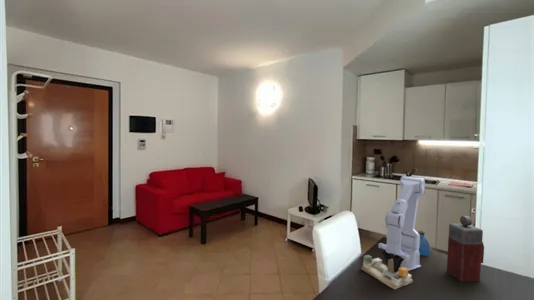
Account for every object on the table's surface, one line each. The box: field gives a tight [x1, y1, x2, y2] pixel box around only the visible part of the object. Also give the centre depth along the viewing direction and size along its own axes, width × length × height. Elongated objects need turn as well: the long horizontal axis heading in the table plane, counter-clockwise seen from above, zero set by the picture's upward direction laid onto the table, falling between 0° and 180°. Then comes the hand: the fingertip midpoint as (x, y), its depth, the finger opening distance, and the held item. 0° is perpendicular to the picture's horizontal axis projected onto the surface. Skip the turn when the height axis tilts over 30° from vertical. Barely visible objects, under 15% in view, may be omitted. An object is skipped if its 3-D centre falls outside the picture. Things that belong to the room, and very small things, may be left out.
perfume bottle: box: [417, 230, 430, 257], centre depth 145 cm, size 6×6×12 cm
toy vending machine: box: [446, 215, 485, 282], centre depth 121 cm, size 9×11×28 cm
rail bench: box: [361, 254, 414, 290], centre depth 121 cm, size 12×18×6 cm, turn 27°
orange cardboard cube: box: [398, 267, 409, 277], centre depth 115 cm, size 3×2×3 cm
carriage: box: [382, 258, 398, 278], centre depth 118 cm, size 7×5×6 cm
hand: (392, 269), depth 118 cm, fingers closed on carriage, 3 cm apart
